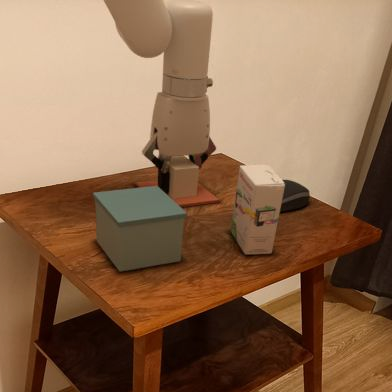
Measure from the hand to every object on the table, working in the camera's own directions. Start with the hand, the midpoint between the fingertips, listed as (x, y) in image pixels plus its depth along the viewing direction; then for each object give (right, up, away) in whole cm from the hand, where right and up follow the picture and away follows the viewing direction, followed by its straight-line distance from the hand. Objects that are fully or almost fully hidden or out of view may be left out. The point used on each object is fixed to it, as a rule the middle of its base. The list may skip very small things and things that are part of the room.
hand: (177, 188), depth 103 cm
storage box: (-5, -15, -19) cm, 25 cm away
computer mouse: (+20, -3, +1) cm, 20 cm away
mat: (0, -1, +1) cm, 1 cm away
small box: (0, 0, 0) cm, 0 cm away
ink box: (+13, -13, -13) cm, 22 cm away
